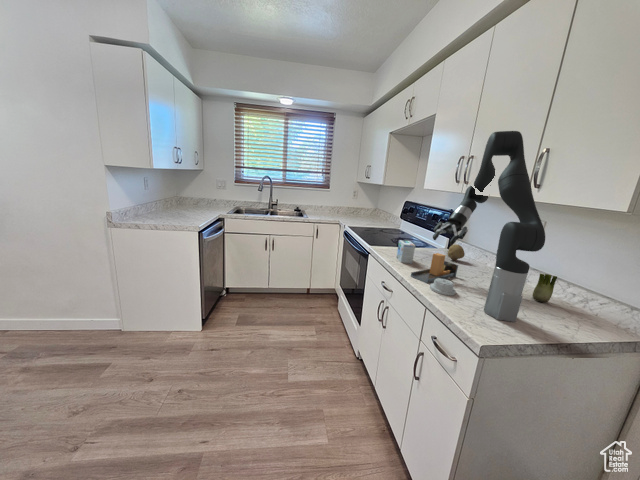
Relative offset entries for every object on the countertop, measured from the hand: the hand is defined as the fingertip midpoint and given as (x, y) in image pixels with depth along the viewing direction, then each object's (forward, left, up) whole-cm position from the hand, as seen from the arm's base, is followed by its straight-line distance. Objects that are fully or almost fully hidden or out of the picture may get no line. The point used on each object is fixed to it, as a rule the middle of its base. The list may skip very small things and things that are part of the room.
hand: (442, 241), depth 122 cm
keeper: (+4, -5, -18) cm, 19 cm away
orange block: (+1, -2, -17) cm, 17 cm away
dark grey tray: (-1, +1, -18) cm, 18 cm away
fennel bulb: (-17, -37, -18) cm, 45 cm away
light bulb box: (+21, +11, -18) cm, 30 cm away
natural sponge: (+34, -22, -18) cm, 45 cm away
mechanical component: (-18, +3, -18) cm, 26 cm away
